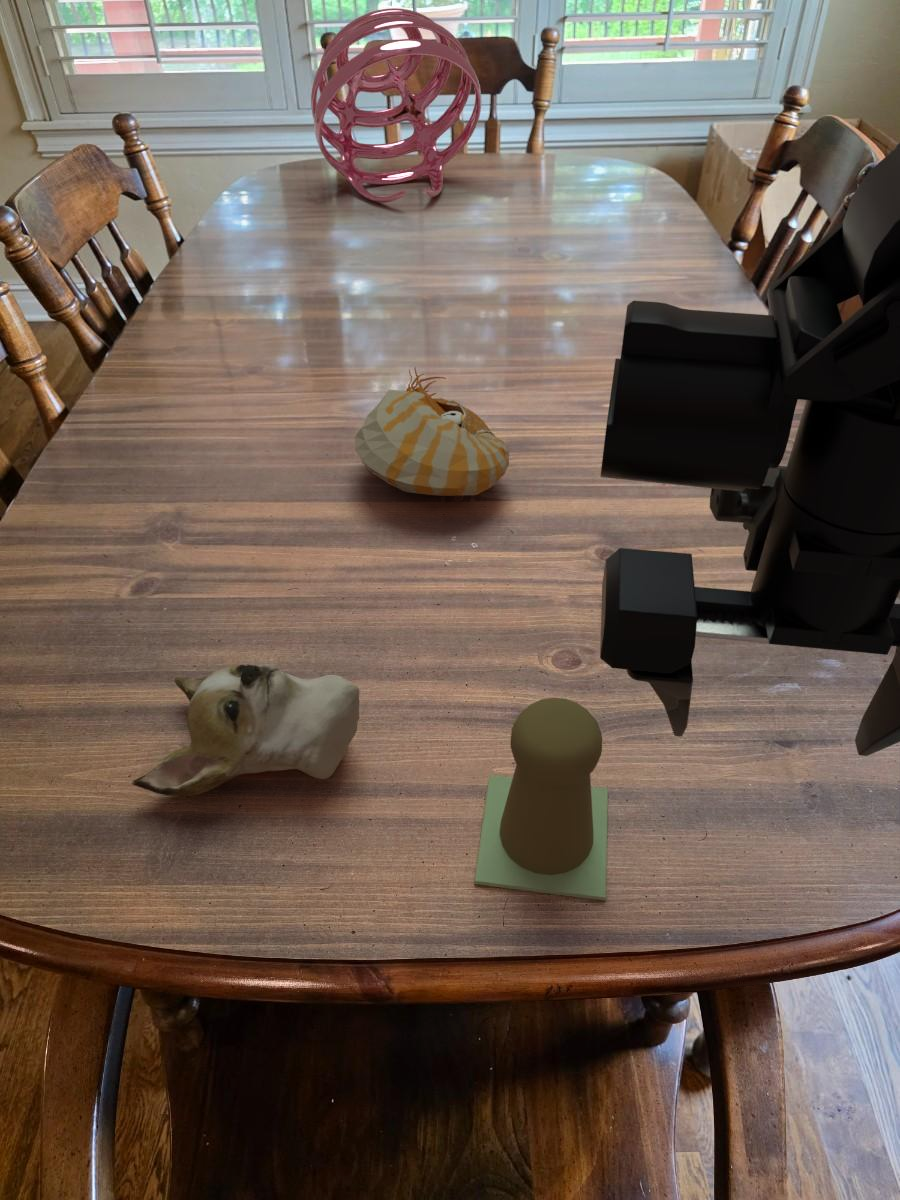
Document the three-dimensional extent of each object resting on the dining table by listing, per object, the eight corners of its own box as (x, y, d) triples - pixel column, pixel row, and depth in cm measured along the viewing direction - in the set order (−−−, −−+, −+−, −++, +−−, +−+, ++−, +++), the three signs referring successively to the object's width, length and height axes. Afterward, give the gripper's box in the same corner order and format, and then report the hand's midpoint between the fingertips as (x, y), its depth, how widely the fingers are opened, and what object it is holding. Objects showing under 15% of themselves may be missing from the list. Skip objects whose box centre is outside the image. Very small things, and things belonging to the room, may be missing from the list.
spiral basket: (494, 86, 125) (445, -60, 131) (310, 148, 127) (271, 1, 133) (506, 208, 152) (466, 82, 158) (355, 257, 155) (321, 131, 160)
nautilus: (372, 412, 97) (506, 421, 97) (343, 518, 80) (505, 529, 80) (371, 344, 92) (512, 353, 92) (339, 442, 75) (512, 453, 75)
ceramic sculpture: (340, 736, 51) (97, 734, 52) (361, 821, 57) (142, 818, 58) (366, 613, 59) (154, 615, 60) (382, 699, 65) (188, 699, 66)
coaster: (607, 791, 58) (608, 788, 58) (605, 901, 52) (605, 897, 52) (489, 778, 59) (489, 774, 59) (474, 884, 53) (474, 881, 53)
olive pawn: (502, 876, 53) (507, 767, 46) (496, 794, 58) (500, 682, 50) (600, 873, 53) (621, 764, 46) (587, 791, 58) (604, 680, 50)
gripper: (1037, 404, 39) (918, 646, 50) (621, 381, 42) (591, 617, 52) (1145, 559, 31) (975, 809, 42) (621, 519, 33) (585, 767, 44)
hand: (767, 738), depth 45 cm, fingers open, 9 cm apart
